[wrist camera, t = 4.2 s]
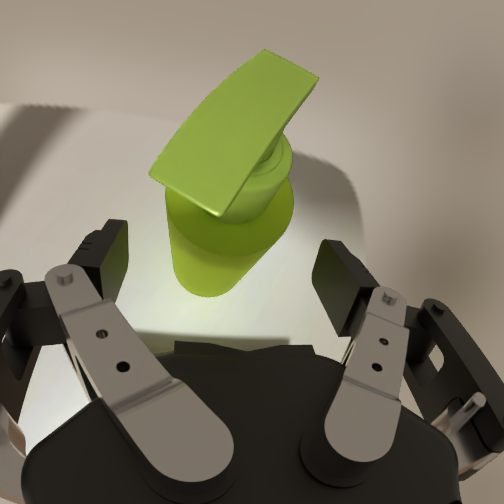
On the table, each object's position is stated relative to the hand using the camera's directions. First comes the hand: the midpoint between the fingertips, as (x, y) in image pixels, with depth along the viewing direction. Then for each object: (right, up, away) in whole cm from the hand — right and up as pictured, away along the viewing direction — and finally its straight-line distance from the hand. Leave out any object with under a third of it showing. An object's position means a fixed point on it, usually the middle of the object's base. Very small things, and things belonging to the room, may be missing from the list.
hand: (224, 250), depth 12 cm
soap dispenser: (-3, -1, +14) cm, 14 cm away
